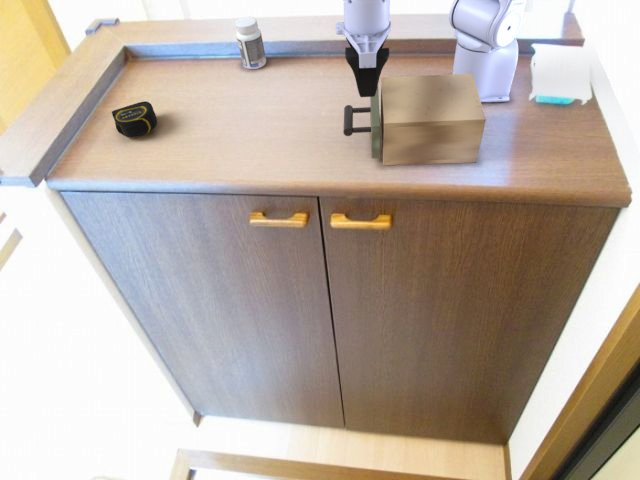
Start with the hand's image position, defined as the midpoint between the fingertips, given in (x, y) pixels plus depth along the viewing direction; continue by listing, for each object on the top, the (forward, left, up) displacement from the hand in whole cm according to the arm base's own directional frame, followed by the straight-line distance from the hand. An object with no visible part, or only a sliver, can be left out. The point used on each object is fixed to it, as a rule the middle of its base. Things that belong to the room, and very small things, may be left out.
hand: (367, 88), depth 66 cm
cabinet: (-9, 0, -9) cm, 13 cm away
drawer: (-5, 0, -9) cm, 10 cm away
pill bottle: (+22, -26, -10) cm, 35 cm away
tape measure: (+40, -6, -10) cm, 42 cm away
